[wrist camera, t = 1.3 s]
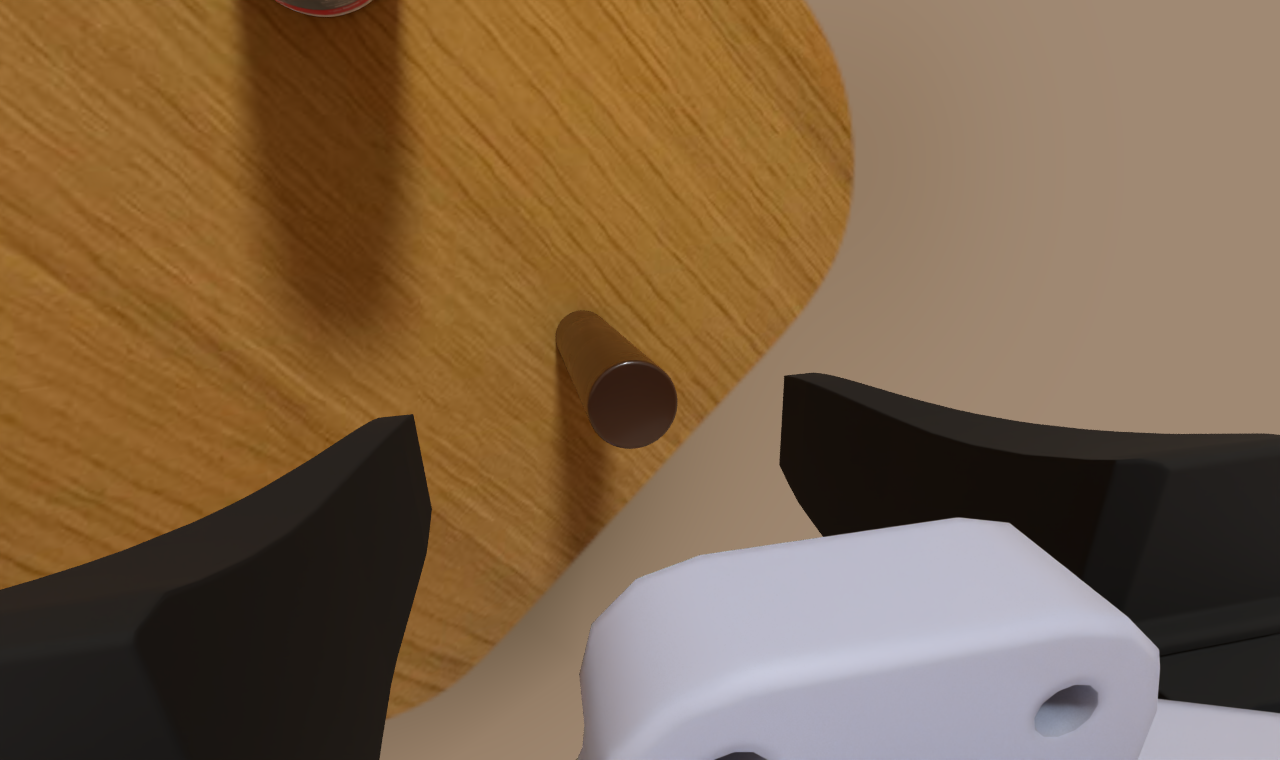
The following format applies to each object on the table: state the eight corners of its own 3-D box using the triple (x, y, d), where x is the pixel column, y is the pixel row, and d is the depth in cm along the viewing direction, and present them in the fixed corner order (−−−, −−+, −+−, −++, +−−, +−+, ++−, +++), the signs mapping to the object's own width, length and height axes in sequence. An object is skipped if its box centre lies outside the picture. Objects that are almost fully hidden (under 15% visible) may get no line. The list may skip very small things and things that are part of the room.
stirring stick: (610, 360, 23) (680, 443, 14) (558, 365, 23) (591, 455, 13) (606, 308, 23) (675, 355, 13) (552, 312, 22) (583, 365, 13)
